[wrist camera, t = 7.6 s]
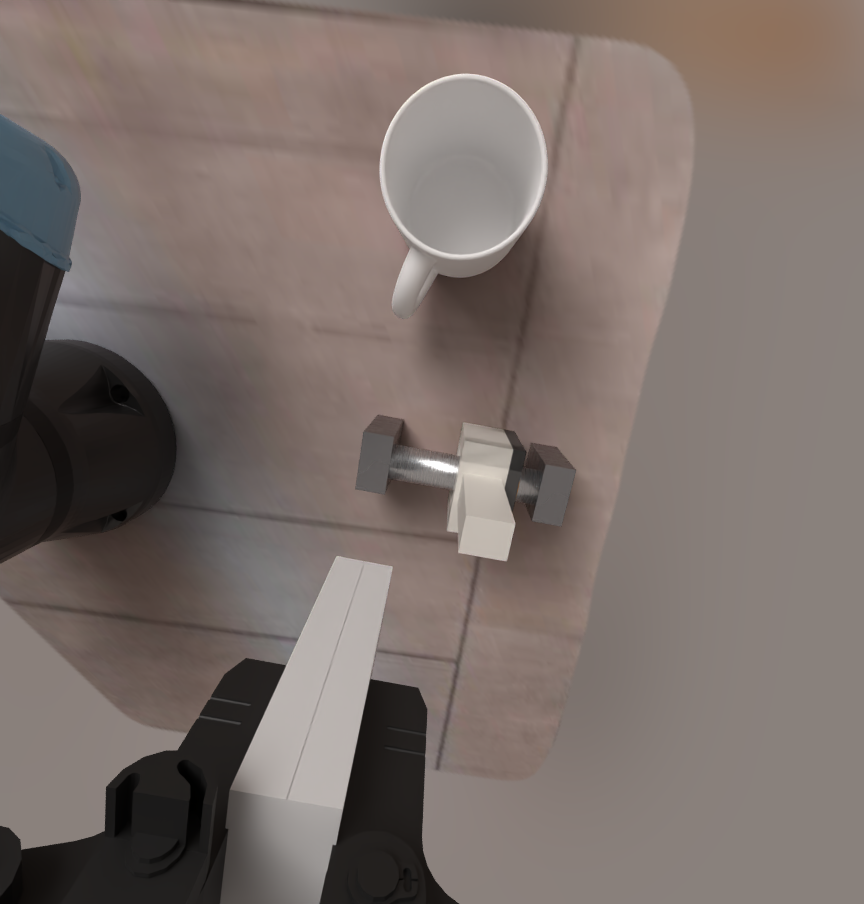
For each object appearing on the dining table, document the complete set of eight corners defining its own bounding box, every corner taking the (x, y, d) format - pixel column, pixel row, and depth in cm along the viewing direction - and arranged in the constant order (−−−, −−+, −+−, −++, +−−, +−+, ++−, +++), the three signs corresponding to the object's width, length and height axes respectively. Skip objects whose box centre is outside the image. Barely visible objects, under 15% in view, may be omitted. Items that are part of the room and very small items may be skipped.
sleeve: (447, 498, 37) (445, 587, 24) (462, 422, 35) (468, 474, 23) (497, 507, 37) (519, 601, 24) (514, 431, 35) (548, 489, 23)
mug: (453, 347, 36) (452, 355, 26) (355, 288, 35) (316, 272, 25) (543, 192, 33) (582, 134, 23) (439, 124, 32) (433, 34, 22)
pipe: (370, 463, 39) (354, 489, 32) (378, 414, 38) (363, 431, 31) (544, 495, 39) (561, 527, 32) (556, 447, 38) (576, 470, 31)
